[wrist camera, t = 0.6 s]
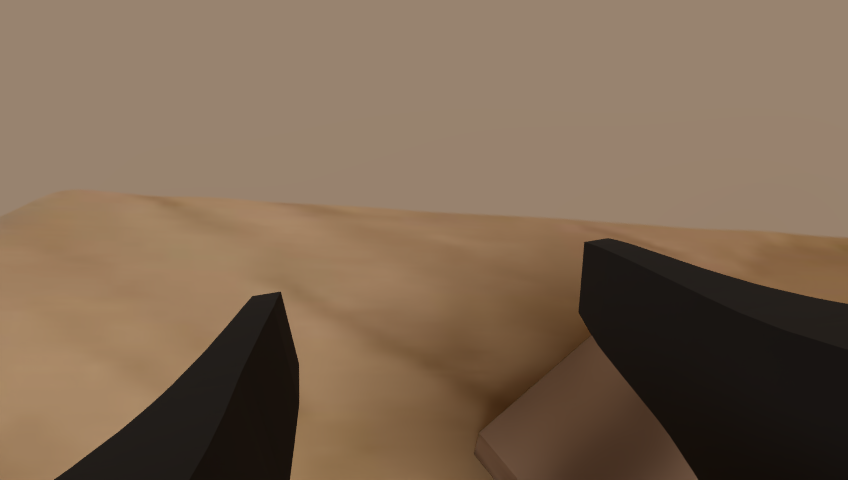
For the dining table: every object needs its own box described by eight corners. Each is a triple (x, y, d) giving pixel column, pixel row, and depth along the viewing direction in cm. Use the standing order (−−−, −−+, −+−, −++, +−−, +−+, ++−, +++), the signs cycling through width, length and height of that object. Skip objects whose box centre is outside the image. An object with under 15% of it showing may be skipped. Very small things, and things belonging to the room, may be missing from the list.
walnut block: (760, 488, 23) (802, 470, 21) (636, 654, 20) (668, 658, 17) (597, 344, 28) (614, 314, 26) (474, 453, 25) (478, 432, 22)
